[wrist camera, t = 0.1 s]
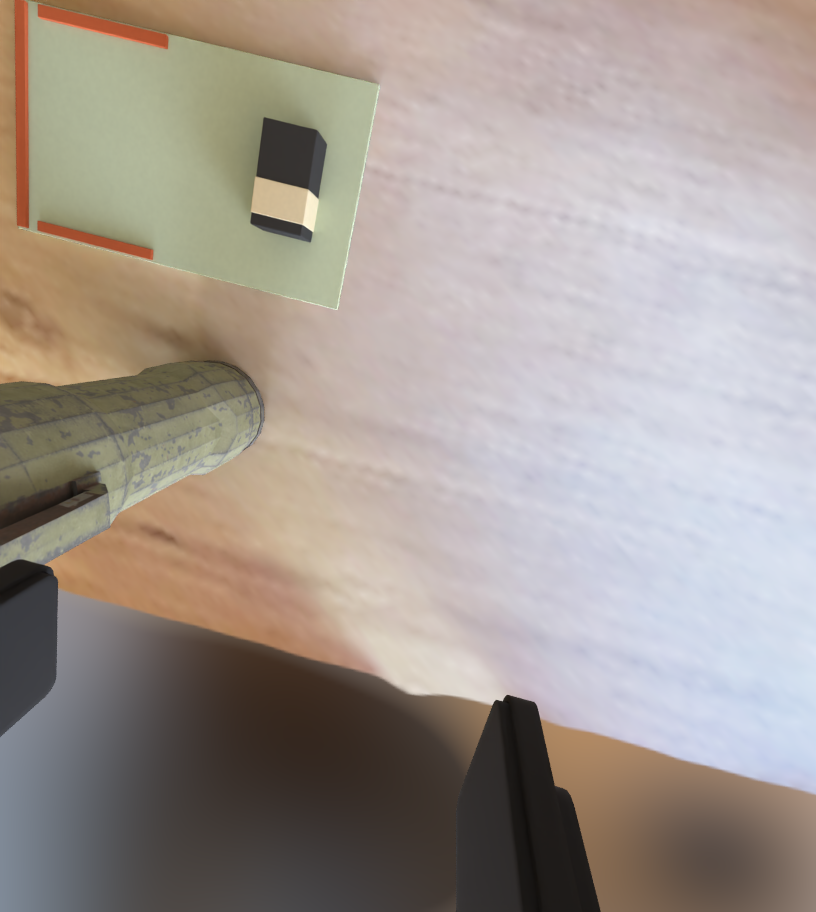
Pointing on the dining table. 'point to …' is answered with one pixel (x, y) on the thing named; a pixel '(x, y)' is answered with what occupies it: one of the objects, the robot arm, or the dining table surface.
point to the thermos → (112, 448)
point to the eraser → (288, 179)
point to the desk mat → (178, 149)
